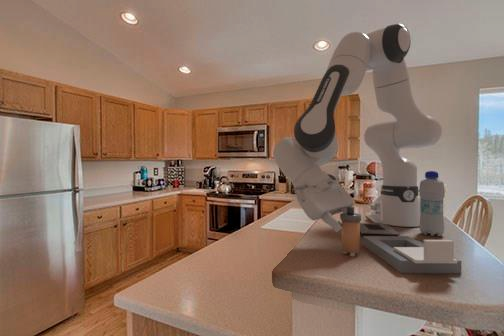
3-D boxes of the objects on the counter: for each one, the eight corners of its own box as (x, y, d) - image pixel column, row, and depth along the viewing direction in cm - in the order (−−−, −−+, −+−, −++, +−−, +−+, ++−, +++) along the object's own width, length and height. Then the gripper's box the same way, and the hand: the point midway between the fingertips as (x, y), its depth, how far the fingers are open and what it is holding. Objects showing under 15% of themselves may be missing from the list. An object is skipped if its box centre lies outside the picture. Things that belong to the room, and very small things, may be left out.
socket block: (363, 245, 69) (363, 236, 69) (407, 245, 68) (407, 236, 68) (400, 273, 51) (400, 260, 51) (461, 273, 50) (461, 261, 50)
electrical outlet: (399, 240, 74) (399, 232, 74) (361, 239, 76) (361, 231, 76) (385, 229, 87) (385, 223, 87) (352, 228, 89) (352, 221, 89)
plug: (337, 250, 64) (337, 205, 64) (356, 250, 64) (356, 205, 64) (344, 257, 59) (344, 208, 59) (364, 257, 59) (364, 208, 59)
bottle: (446, 238, 74) (446, 171, 74) (419, 235, 78) (419, 171, 78) (443, 233, 80) (443, 170, 80) (418, 230, 84) (418, 170, 84)
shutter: (393, 249, 57) (393, 229, 57) (429, 249, 57) (429, 229, 57) (419, 265, 48) (419, 241, 48) (461, 265, 48) (461, 241, 48)
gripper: (299, 178, 60) (339, 226, 53) (337, 175, 74) (372, 213, 68) (283, 195, 63) (319, 243, 56) (323, 190, 77) (355, 226, 71)
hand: (348, 226), depth 62 cm, fingers open, 8 cm apart
